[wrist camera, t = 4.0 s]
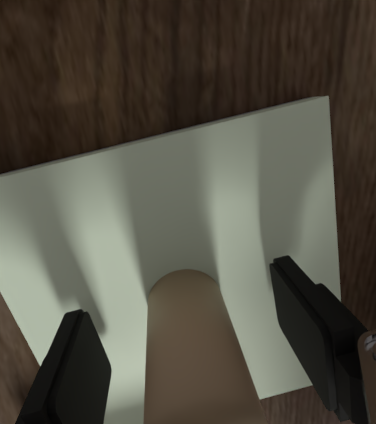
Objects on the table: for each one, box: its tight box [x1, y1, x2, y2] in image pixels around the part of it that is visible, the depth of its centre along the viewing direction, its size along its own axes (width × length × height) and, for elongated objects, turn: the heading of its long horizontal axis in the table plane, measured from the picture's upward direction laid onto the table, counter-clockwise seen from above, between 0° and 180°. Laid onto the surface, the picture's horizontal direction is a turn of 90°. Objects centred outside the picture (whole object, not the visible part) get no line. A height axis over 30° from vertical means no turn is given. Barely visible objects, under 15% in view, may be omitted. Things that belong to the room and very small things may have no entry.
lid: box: [0, 96, 341, 424], centre depth 10 cm, size 13×13×6 cm
